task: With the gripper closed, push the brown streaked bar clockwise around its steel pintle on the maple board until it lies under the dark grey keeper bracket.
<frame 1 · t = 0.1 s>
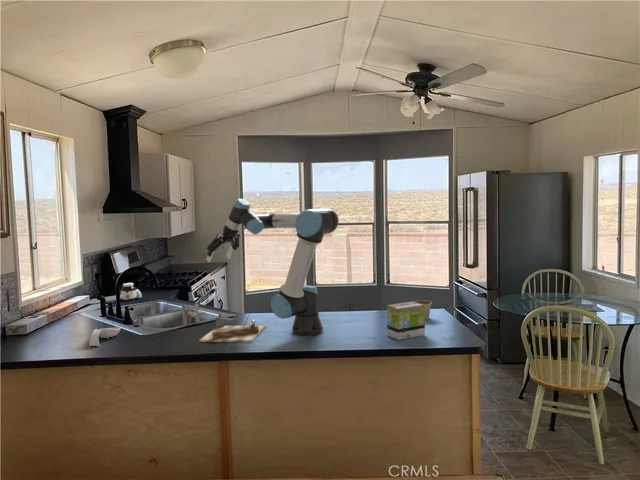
hand: (218, 259, 250), 36 cm above the countertop, tool tilted 35°, fingers open, 13 cm apart
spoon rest: (104, 340, 235), on the countertop
maple board: (234, 334, 235), on the countertop
pipe connector: (197, 322, 262), on the countertop
brown streaked bar: (236, 331, 230), point 3 cm above the countertop, hinge at 32.0°
spread jar: (132, 299, 337), on the countertop
flower pot: (423, 318, 252), on the countertop
tea box: (406, 336, 222), on the countertop
pintle: (253, 323, 233), point 6 cm above the countertop
keeper bracket: (225, 323, 245), on the maple board, point 3 cm above the countertop
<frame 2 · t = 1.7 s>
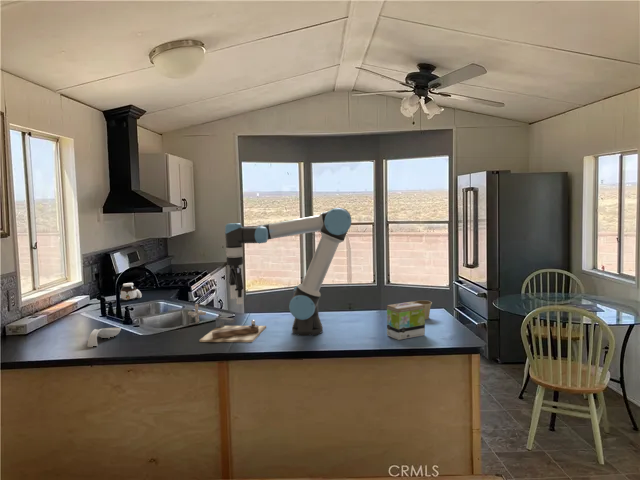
hand: (236, 301, 223), 19 cm above the countertop, tool pointing down, fingers open, 13 cm apart
nothing on the countertop moved.
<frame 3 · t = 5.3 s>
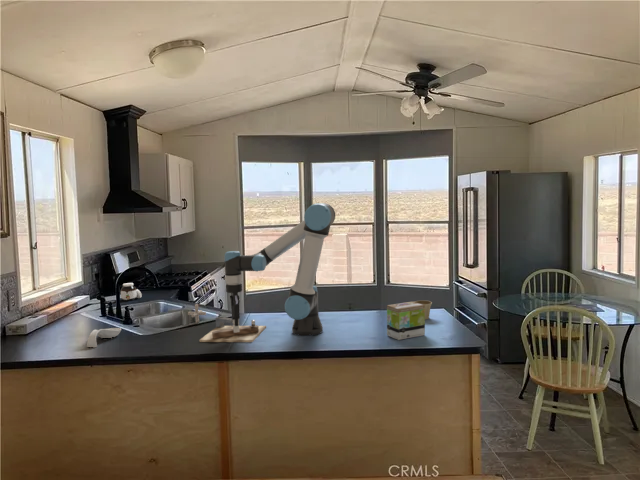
hand: (236, 332, 228), 3 cm above the countertop, tool pointing down, fingers closed
brown streaked bar: (236, 331, 230), point 3 cm above the countertop, hinge at 31.8°, touching gripper
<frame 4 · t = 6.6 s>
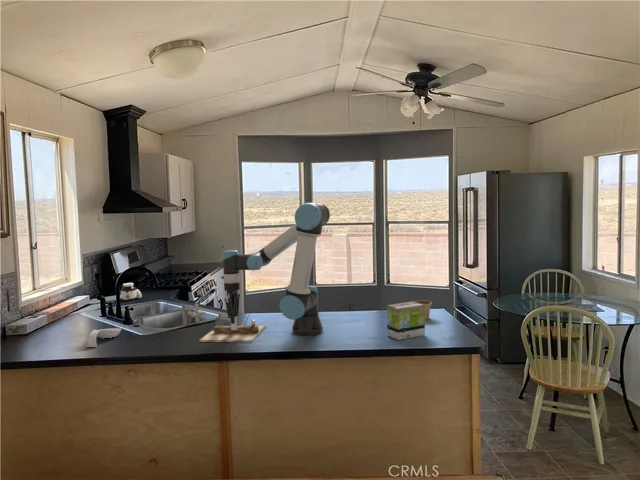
hand: (234, 329, 233), 3 cm above the countertop, tool pointing down, fingers closed
brown streaked bar: (236, 329, 235), point 3 cm above the countertop, hinge at 0.4°, touching gripper
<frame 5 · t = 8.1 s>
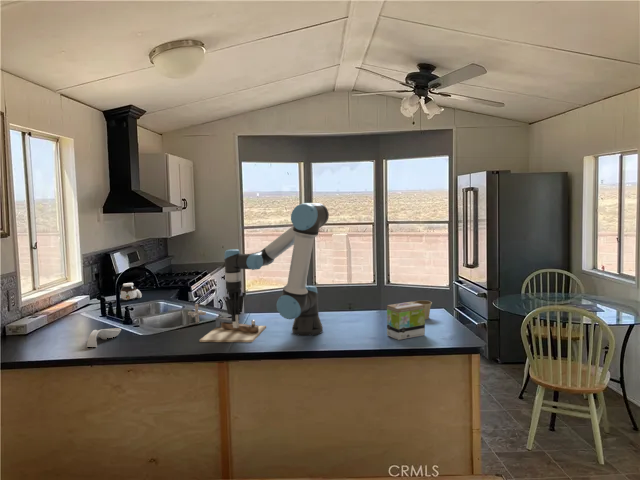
hand: (235, 327, 236), 3 cm above the countertop, tool pointing down, fingers closed
brown streaked bar: (240, 327, 238), point 3 cm above the countertop, hinge at -23.8°
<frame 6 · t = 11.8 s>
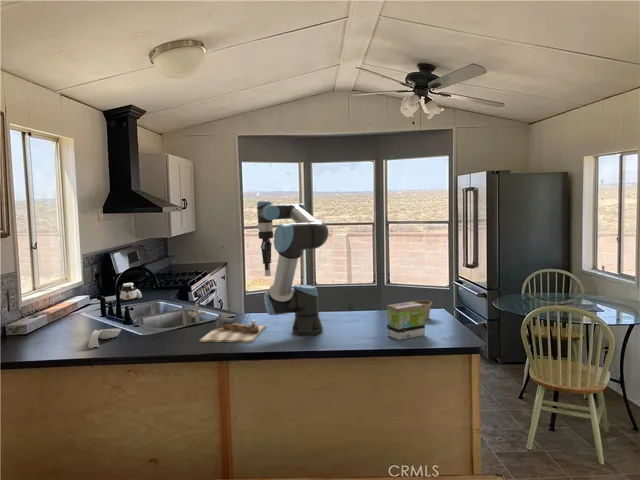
hand: (267, 275, 248), 26 cm above the countertop, tool pointing down, fingers closed
at the end: brown streaked bar at -24° (first picture: +32°); pipe connector moved 0.2 cm from its start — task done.
